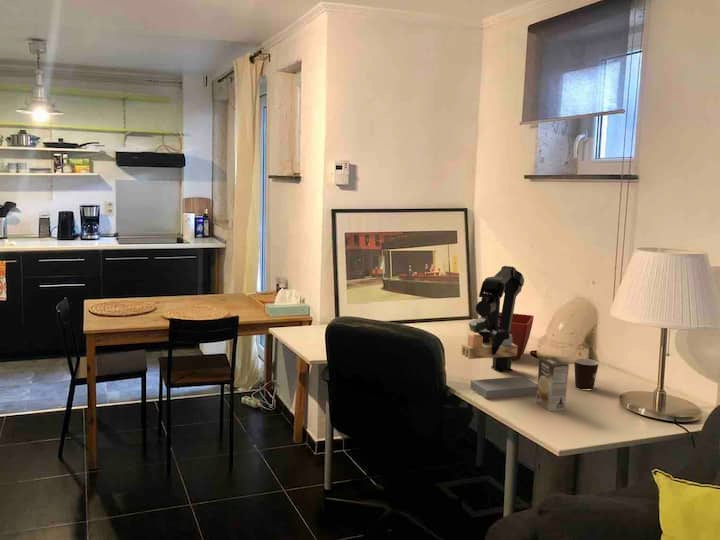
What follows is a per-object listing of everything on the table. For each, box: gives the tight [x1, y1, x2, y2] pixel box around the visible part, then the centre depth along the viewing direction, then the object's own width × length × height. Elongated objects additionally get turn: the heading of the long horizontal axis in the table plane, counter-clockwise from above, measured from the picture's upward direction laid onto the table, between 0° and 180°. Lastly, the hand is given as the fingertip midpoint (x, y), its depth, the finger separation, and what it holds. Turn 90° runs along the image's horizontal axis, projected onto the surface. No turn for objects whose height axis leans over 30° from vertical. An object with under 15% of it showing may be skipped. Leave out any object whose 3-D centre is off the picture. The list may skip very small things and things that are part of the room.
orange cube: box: [467, 333, 483, 347], centre depth 256 cm, size 4×4×4 cm
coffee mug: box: [573, 358, 599, 390], centre depth 255 cm, size 12×9×10 cm
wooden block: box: [461, 343, 517, 360], centre depth 259 cm, size 20×6×4 cm, turn 108°
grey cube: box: [501, 334, 512, 346], centre depth 260 cm, size 4×4×4 cm
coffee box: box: [535, 356, 570, 412], centre depth 232 cm, size 9×6×16 cm
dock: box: [470, 375, 538, 400], centre depth 248 cm, size 22×12×3 cm, turn 108°
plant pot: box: [489, 311, 534, 361], centre depth 296 cm, size 19×19×17 cm
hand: (489, 352), depth 259 cm, fingers closed on wooden block, 6 cm apart
